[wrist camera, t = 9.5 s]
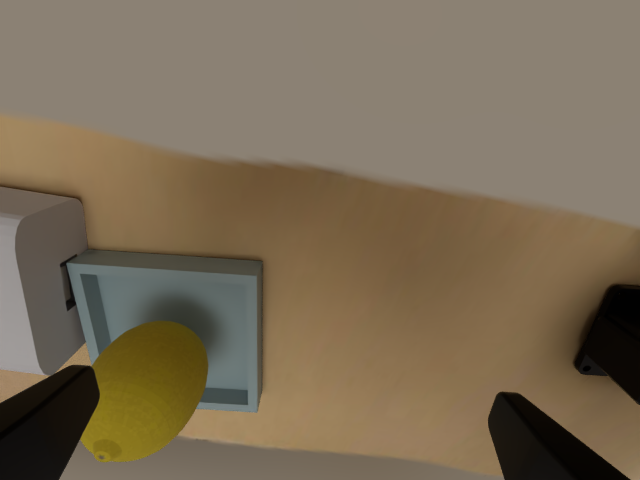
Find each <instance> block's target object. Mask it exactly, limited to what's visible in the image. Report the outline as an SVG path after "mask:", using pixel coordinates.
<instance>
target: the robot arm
mask: <svg viewBox="0 0 640 480" xmlns="http://www.w3.org/2000/svg"><path fill="white" fill-rule="evenodd" d="M574 366H575V368H576V369H577V370H578V371H579V372H580V373H581V374H585V375H600V376H609V377H610V378H611V379H612V380H613V381H614V382H615V383H616V384H617V385H618V386H619V387H620V388H621V389H622V390H624V391H625V392H626V393H627V394H628V395H629V396H630V397H631V398H632V399H633V400H634V401H635V402H636V403H637V404H639V405H640V286H629V285H616V286H614V287H612V288H611V289H610V290H609V291H608V294H607V296H606V298H605V300H604V302H603V304H602V306H601V309H600V311H599V313H598V315H597V317H596V319H595V321H594V324H593V326H592V328H591V330H590V332H589V334H588V336H587V339H586V341H585V343H584V345H583V347H582V349H581V352H580V354H579V356H578V358H577V360H576V362H575V365H574ZM99 399H100V391H99V387H98V383H97V379H96V375H95V371H94V369H93V368H92V367H91V366H86V365H71V366H68V367H66V368H64V369H62V370H61V371H59V372H57V373H55V374H53V375H51V376H49V377H48V378H46V379H44V380H42V381H40V382H38V383H37V384H35V385H33V386H31V387H29V388H27V389H25V390H24V391H22V392H20V393H18V394H16V395H14V396H12V397H11V398H9V399H7V400H5V401H3V402H1V403H0V480H59V478H60V477H61V475H62V473H63V471H64V469H65V467H66V465H67V464H68V462H69V460H70V458H71V456H72V454H73V452H74V450H75V448H76V446H77V444H78V442H79V440H80V438H81V436H82V434H83V432H84V430H85V429H86V427H87V425H88V423H89V421H90V419H91V417H92V415H93V413H94V411H95V409H96V407H97V405H98V402H99ZM488 426H489V431H490V434H491V437H492V440H493V444H494V447H495V450H496V453H497V457H498V460H499V463H500V466H501V469H502V473H503V476H504V479H505V480H630V479H629V478H628V477H626V476H625V475H624V474H622V473H621V472H620V471H619V470H617V469H616V468H615V467H613V466H612V465H611V464H610V463H608V462H607V461H606V460H604V459H603V458H602V457H601V456H599V455H598V454H597V453H595V452H594V451H593V450H592V449H590V448H589V447H588V446H586V445H585V444H584V443H583V442H581V441H580V440H579V439H577V438H576V437H575V436H574V435H572V434H571V433H570V432H568V431H567V430H566V429H565V428H563V427H562V426H561V425H559V424H558V423H557V422H556V421H554V420H553V419H552V418H550V417H549V416H548V415H547V414H545V413H544V412H543V411H541V410H540V409H539V408H537V407H536V406H535V405H534V404H532V403H531V402H530V401H528V400H527V399H526V398H525V397H523V396H522V395H520V394H519V393H514V392H499V393H498V394H497V395H496V398H495V400H494V403H493V406H492V409H491V411H490V414H489V417H488Z"/></svg>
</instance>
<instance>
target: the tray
mask: <svg viewBox="0 0 640 480" xmlns="http://www.w3.org/2000/svg"><path fill="white" fill-rule="evenodd" d="M66 264H67V268H68V272H69V276H70V280H71V284H72V288H73V292H74V296H75V300H76V304H77V308H78V312H79V316H80V320H81V324H82V328H83V332H84V336H85V340H86V344H87V348H88V352H89V356H90V360H91V364H92V365H93V363H94V362H95V360H96V359H97V358H98V356H99V355H100V354H101V353H102V352H103V350H104V349H105V348H106V347H108V346H109V345H110V344H111V343H112V342H113V341H114V340H115V339H117V338H118V337H119V336H120V335H122V334H123V333H124V332H126V331H128V330H129V329H132V328H134V327H136V326H139V325H141V324H143V323H147V322H153V321H172V322H176V323H180V324H182V325H184V326H186V327H188V328H189V329H191V330H192V331H193V332H195V334H196V335H197V336H198V337H199V338H200V340H201V341H202V343H203V345H204V347H205V349H206V353H207V358H208V375H207V382H206V386H205V390H204V393H203V395H202V398H201V400H200V402H199V404H198V406H197V407H196V409H209V410H225V411H241V412H258V407H259V403H260V398H261V394H262V261H252V260H238V259H223V258H208V257H194V256H179V255H165V254H150V253H135V252H121V251H106V250H92V249H88V250H86V251H85V252H83V253H82V254H80V255H78V256H77V257H75V258H73V259H72V260H70V261H69V262H67V263H66Z"/></svg>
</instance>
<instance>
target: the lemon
mask: <svg viewBox="0 0 640 480" xmlns="http://www.w3.org/2000/svg"><path fill="white" fill-rule="evenodd" d="M92 368H93V369H94V371H95V375H96V379H97V383H98V387H99V391H100V399H99V402H98V405H97V407H96V409H95V411H94V413H93V415H92V417H91V419H90V421H89V423H88V425H87V427H86V429H85V430H84V432H83V434H82V436H81V438H80V440H81V441H82V443H83V444H84V446H85V447H86V448H87V449H88V450H89V451H90V452H91V453H93V454H94V457H95V458H96V459H97V460H98V461H100V462H109V461H115V462H124V461H125V462H126V461H133V460H137V459H140V458H144V457H146V456H149V455H151V454H153V453H155V452H157V451H159V450H160V449H162V448H163V447H164V446H166V445H167V444H168V443H169V442H170V441H171V440H172V439H173V438H174V437H175V436H177V435H178V433H179V432H180V431H181V430H182V429H183V428H184V426H185V425H186V424H187V422H188V421H189V419H190V418H191V416H192V415H193V413H194V411H195V409H196V407H197V406H198V404H199V402H200V400H201V398H202V395H203V393H204V390H205V386H206V382H207V375H208V358H207V353H206V349H205V347H204V345H203V343H202V341H201V340H200V338H199V337H198V336H197V335H196V334H195V332H193V331H192V330H191V329H189V328H188V327H186V326H184V325H182V324H180V323H176V322H172V321H153V322H147V323H143V324H141V325H139V326H136V327H134V328H132V329H129V330H128V331H126V332H124V333H123V334H122V335H120V336H119V337H118V338H117V339H115V340H114V341H113V342H112V343H111V344H110V345H109V346H108V347H106V348H105V349H104V350H103V352H102V353H101V354H100V355H99V356H98V358H97V359H96V360H95V362H94V363H93V365H92Z"/></svg>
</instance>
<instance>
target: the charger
mask: <svg viewBox="0 0 640 480" xmlns="http://www.w3.org/2000/svg"><path fill="white" fill-rule="evenodd" d="M86 250H88V244H87V236H86V227H85V219H84V211H83V205H82V204H81V202H80V201H79V200H78V199H76V198H70V197H63V196H57V195H51V194H44V193H38V192H32V191H25V190H19V189H13V188H6V187H0V369H3V370H10V371H18V372H26V373H33V374H41V375H52V374H54V373H55V372H56V371H57V370H58V369H59V368H60V367H61V366H62V365H63V364H64V363H65V362H66V361H67V360H68V359H69V358H70V357H71V356H72V355H73V354H74V353H75V352H76V351H77V350H78V349H79V348H80V347H81V346H82V345H83V344H84V343H85V342H86V340H85V336H84V332H83V328H82V324H81V320H80V316H79V312H78V308H77V304H76V300H75V296H74V292H73V288H72V284H71V280H70V276H69V272H68V268H67V264H66V263H67V262H69V261H70V260H72V259H73V258H75V254H77V256H78V255H80V254H82V253H83V252H85V251H86Z"/></svg>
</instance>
